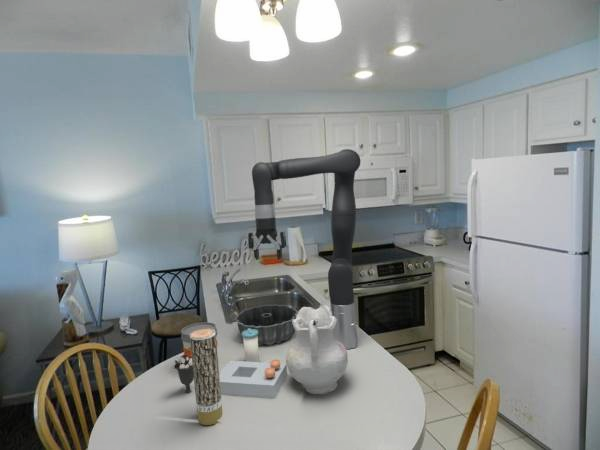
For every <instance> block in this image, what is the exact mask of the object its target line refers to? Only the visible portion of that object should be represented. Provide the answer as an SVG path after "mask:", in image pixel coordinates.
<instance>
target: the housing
mask: <svg viewBox="0 0 600 450" xmlns="http://www.w3.org/2000/svg"><path fill="white" fill-rule="evenodd" d="M266 368H270V362H264V361H263V362H262V361H259V362H245V360H244V361H241V360H240V361H239V360H229V362H228V363H227V364H226V365H225V366H224V367H223V369H221V371H219V379H220V390H221V395H225V396H237V397H238V396H239V397H250V398H251V397H253V398H264V399H265V398H267V399H276V397H277V395H278V393H279V391H280V390H281V388H282V386H283V384H284V382H285V381H286V378H287V377H288V367H287V363H281V362H280V368H278V369H277V371H275V376H274V377H272V379H269V378H268V377H265V371H264V370H265V369H266Z"/></svg>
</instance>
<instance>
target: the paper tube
mask: <svg viewBox="0 0 600 450" xmlns="http://www.w3.org/2000/svg"><path fill="white" fill-rule="evenodd" d="M216 339H217V336H216V334H215V330H213V329H200V330H196V331H194V332H192V333H191V334H190V343H191V353H192V364H193V374H194V380H193V383H194V393H195V402H196V404H195V405H196V413H197V414H196V415H197V421H198V423H199V424H201V425H203V426H211V425H214V424H215V425H216V424H217V423H218V422H219V420H220V419H221V418H222V417H223V403H222V394H221V390H220V379H219V373H220V371H219V370H220V369H219V358H218V344H217V345H216Z"/></svg>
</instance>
